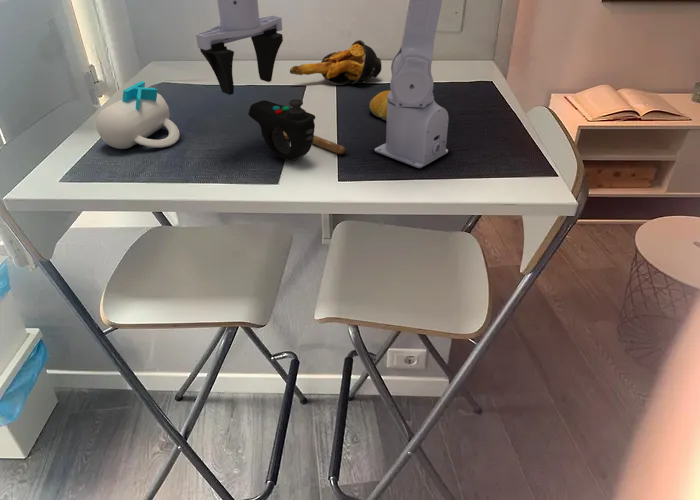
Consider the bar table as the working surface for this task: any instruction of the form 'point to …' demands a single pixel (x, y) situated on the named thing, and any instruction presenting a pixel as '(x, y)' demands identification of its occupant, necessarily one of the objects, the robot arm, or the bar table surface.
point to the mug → (136, 119)
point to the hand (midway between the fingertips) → (247, 86)
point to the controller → (285, 127)
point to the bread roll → (380, 105)
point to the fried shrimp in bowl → (345, 65)
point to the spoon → (325, 144)
